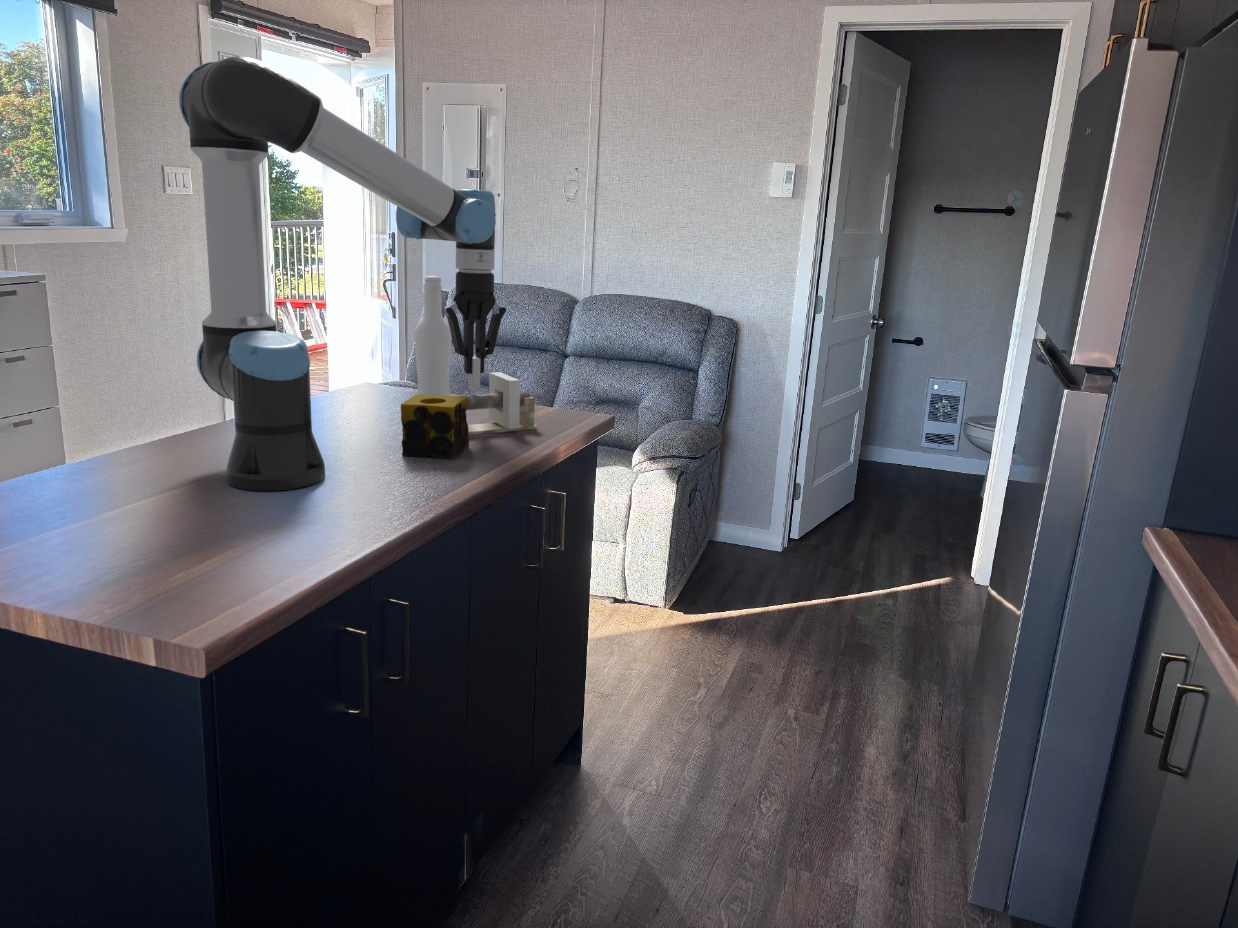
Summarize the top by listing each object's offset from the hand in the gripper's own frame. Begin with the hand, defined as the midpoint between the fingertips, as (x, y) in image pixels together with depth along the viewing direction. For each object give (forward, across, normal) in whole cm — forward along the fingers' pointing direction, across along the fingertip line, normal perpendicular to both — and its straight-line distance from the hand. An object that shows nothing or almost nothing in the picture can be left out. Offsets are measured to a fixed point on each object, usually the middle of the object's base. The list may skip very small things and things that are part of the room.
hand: (474, 389), depth 187 cm
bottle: (+9, -2, +18) cm, 20 cm away
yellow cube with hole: (+9, -13, -13) cm, 20 cm away
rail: (+9, +4, 0) cm, 9 cm away
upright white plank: (+9, +7, 0) cm, 11 cm away
